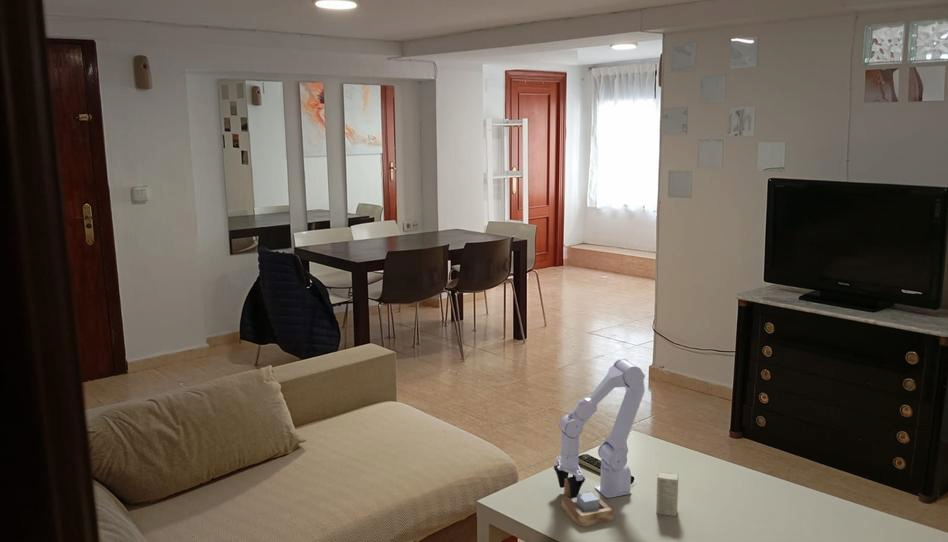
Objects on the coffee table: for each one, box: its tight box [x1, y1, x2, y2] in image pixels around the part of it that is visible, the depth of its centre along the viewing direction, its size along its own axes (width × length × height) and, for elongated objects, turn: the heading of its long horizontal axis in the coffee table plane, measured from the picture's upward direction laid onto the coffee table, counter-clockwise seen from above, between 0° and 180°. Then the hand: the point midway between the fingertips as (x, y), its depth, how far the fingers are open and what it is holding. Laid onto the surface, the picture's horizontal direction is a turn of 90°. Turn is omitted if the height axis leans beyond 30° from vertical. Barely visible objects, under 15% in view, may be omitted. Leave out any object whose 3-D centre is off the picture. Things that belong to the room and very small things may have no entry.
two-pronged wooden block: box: [560, 491, 614, 527], centre depth 236 cm, size 11×13×4 cm
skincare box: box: [655, 471, 679, 517], centre depth 237 cm, size 6×4×12 cm
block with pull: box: [563, 478, 600, 513], centre depth 241 cm, size 5×16×6 cm, turn 21°
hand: (568, 492), depth 247 cm, fingers open, 7 cm apart
